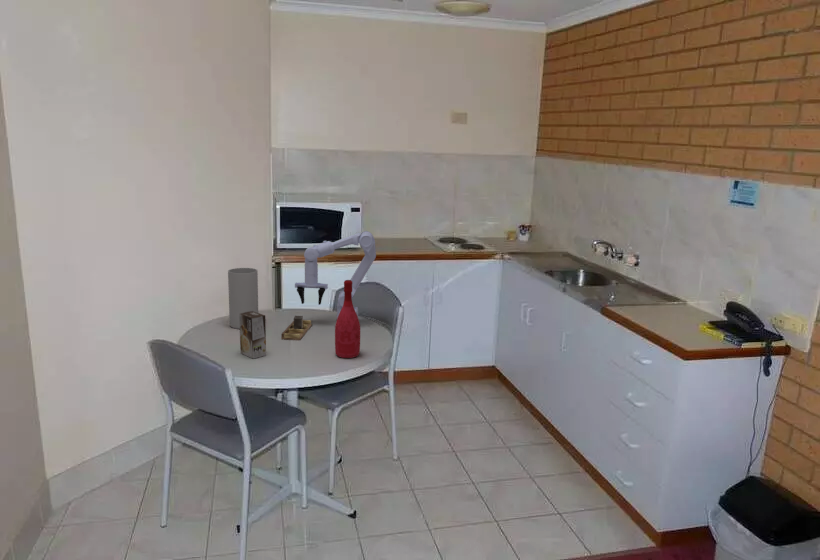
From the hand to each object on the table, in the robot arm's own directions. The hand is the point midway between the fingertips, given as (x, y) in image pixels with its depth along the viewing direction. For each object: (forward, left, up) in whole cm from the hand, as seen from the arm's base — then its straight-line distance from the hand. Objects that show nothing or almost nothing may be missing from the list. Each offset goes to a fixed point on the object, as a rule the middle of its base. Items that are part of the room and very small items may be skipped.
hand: (311, 303), depth 283 cm
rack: (+4, +12, -10) cm, 16 cm away
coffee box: (+13, +43, -10) cm, 46 cm away
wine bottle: (-23, +38, -10) cm, 46 cm away
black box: (+3, +12, -9) cm, 15 cm away
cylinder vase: (+29, +6, -10) cm, 31 cm away
